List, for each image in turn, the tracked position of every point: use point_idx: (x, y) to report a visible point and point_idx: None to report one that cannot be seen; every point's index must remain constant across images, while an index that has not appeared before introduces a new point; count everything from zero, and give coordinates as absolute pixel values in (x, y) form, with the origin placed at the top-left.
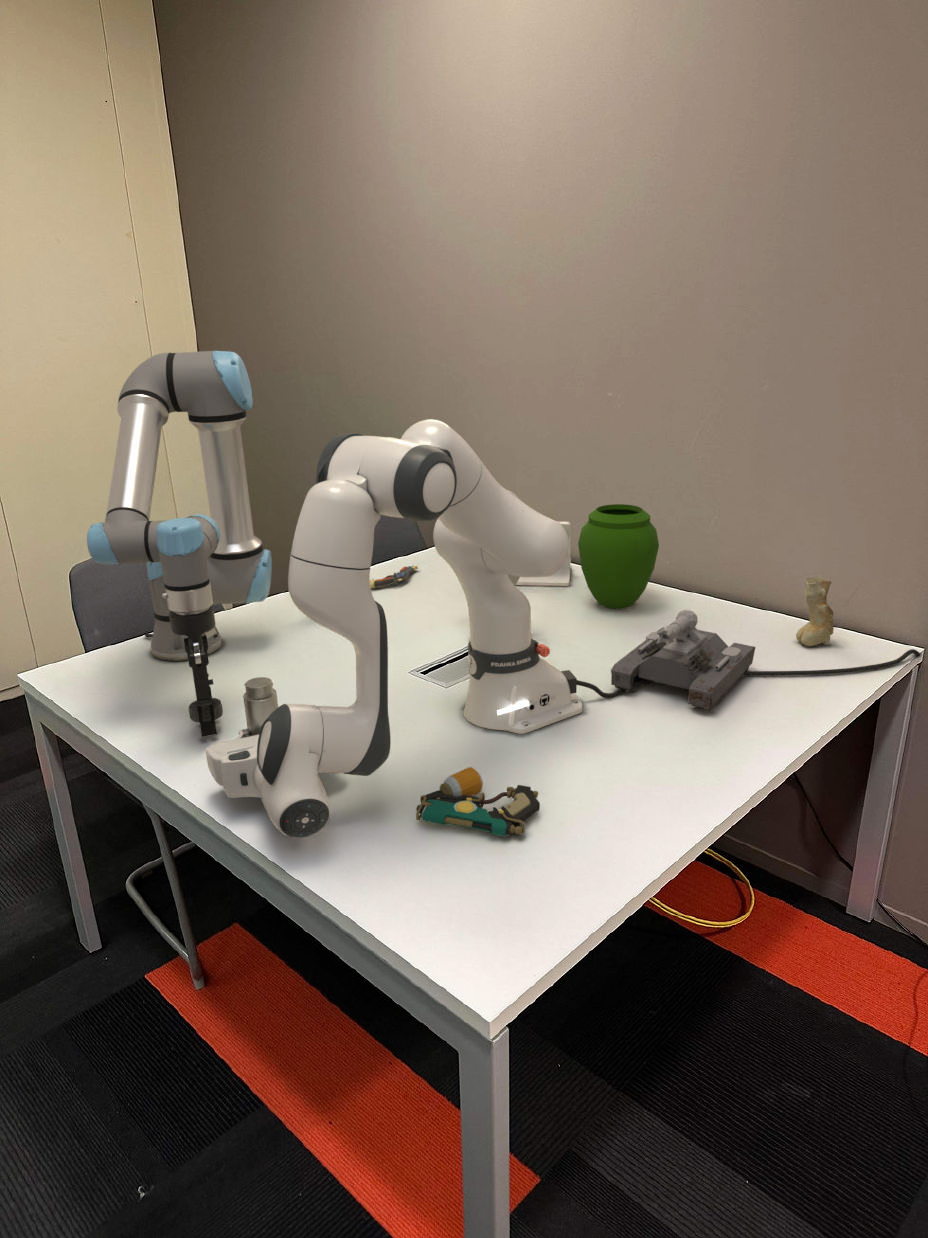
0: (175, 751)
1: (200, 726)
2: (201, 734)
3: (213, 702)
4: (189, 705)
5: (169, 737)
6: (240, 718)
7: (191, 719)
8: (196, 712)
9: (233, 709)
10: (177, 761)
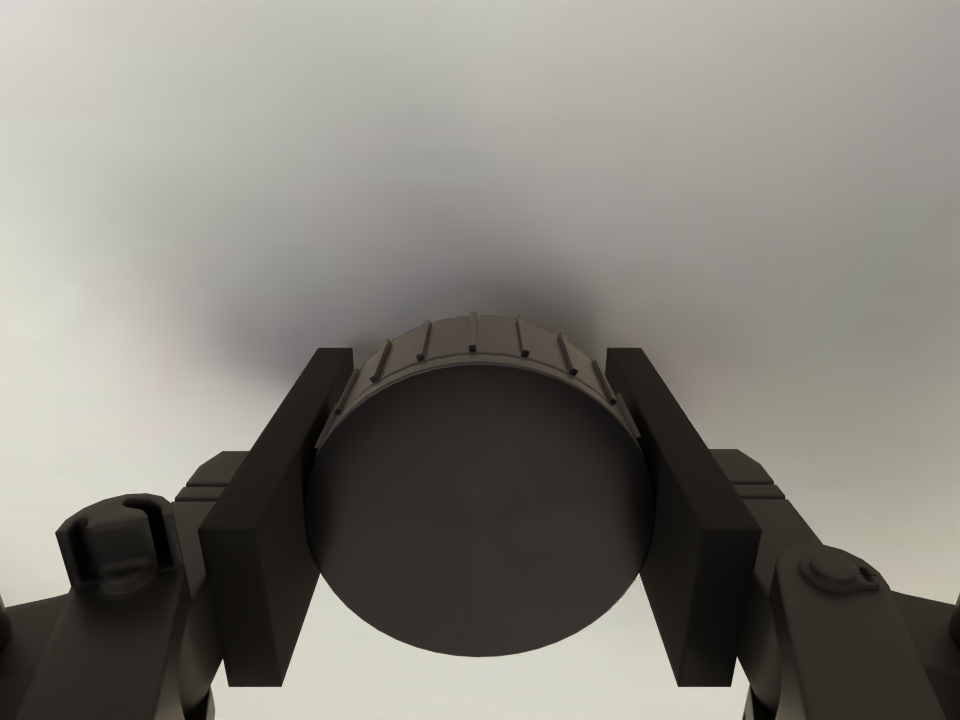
0: (222, 121)
1: (291, 390)
2: (315, 357)
3: (496, 599)
4: (523, 372)
5: (502, 72)
6: None
7: (419, 328)
8: (327, 431)
9: None
10: (44, 135)
